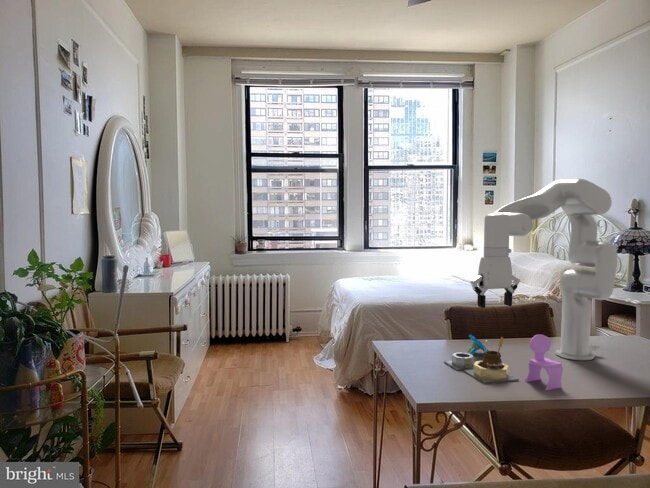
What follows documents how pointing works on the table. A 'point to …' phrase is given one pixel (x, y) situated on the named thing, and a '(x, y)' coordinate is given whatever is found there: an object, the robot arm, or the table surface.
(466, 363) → the narrow socket
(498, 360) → the utensil holder
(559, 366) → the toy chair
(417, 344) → the table surface
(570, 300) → the robot arm
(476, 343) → the gear
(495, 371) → the wide socket
